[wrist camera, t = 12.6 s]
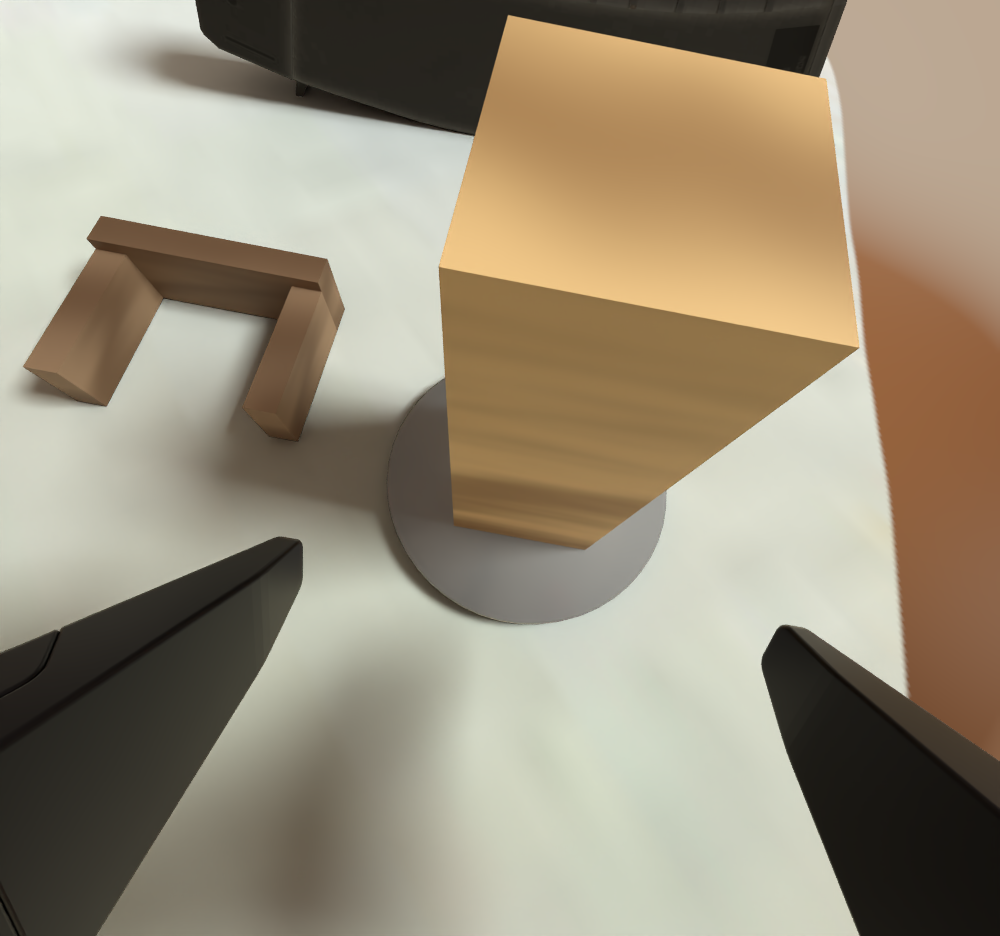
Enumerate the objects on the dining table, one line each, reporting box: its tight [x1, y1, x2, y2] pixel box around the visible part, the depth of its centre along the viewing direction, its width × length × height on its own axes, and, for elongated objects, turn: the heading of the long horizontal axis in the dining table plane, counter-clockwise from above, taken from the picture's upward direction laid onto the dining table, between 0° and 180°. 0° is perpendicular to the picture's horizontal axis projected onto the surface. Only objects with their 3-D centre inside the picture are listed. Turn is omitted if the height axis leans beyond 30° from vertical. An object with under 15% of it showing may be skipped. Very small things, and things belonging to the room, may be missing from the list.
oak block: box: [439, 15, 859, 550], centre depth 12 cm, size 5×5×13 cm
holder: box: [23, 216, 345, 441], centre depth 19 cm, size 7×9×3 cm
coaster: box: [387, 378, 666, 624], centre depth 19 cm, size 11×11×1 cm
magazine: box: [195, 0, 847, 135], centre depth 22 cm, size 17×3×30 cm
